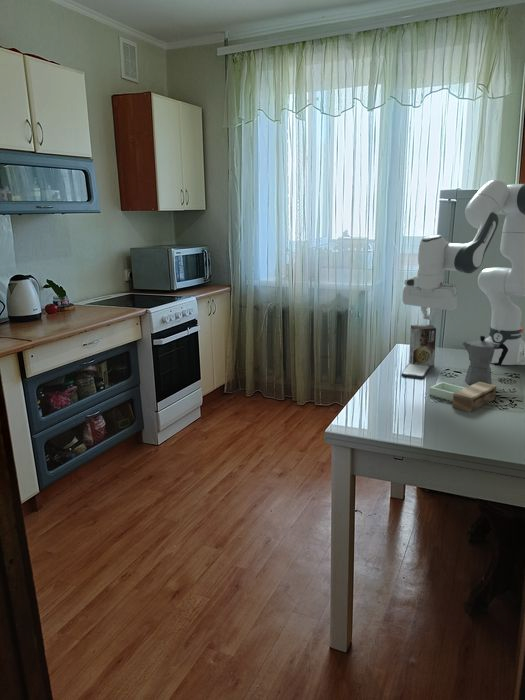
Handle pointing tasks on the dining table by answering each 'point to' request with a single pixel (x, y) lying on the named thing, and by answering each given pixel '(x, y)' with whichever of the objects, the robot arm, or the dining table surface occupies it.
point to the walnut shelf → (474, 396)
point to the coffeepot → (482, 360)
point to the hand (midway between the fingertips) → (428, 319)
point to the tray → (444, 390)
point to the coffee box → (422, 345)
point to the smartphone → (415, 371)
